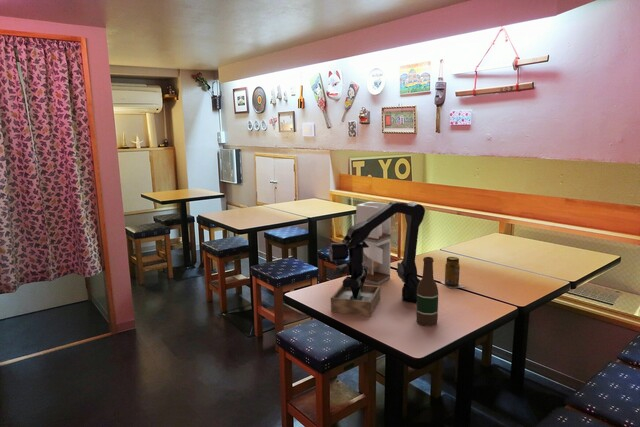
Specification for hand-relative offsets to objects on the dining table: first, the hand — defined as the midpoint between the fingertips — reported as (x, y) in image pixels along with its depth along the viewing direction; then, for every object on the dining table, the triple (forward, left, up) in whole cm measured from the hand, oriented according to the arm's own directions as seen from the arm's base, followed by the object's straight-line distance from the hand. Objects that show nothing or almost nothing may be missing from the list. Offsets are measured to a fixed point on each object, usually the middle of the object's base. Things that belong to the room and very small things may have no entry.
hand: (356, 296), depth 176 cm
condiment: (-35, -34, -4) cm, 49 cm away
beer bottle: (-28, +8, -4) cm, 29 cm away
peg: (0, 0, -2) cm, 2 cm away
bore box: (0, 0, -4) cm, 4 cm away
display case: (0, -32, -4) cm, 32 cm away
